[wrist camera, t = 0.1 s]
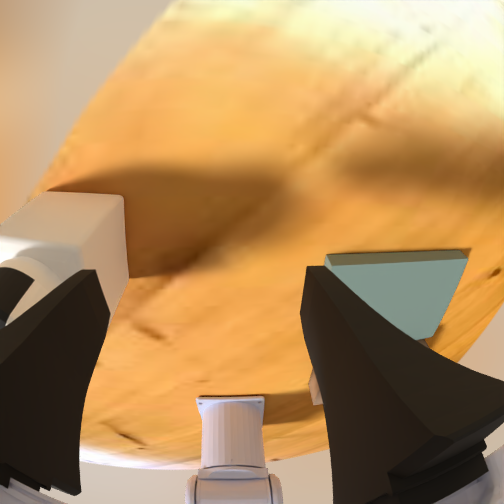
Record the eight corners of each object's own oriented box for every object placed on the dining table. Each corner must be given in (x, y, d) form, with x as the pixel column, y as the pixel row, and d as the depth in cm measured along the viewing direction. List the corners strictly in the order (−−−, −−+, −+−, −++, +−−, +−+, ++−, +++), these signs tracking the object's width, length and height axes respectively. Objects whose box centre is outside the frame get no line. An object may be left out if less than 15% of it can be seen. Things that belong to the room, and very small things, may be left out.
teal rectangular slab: (426, 327, 27) (432, 336, 26) (309, 344, 26) (312, 356, 25) (459, 249, 22) (468, 258, 20) (326, 254, 21) (331, 265, 20)
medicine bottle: (57, 269, 20) (-12, 379, 10) (43, 189, 17) (-66, 285, 6) (130, 279, 21) (80, 415, 11) (125, 193, 18) (26, 319, 7)
